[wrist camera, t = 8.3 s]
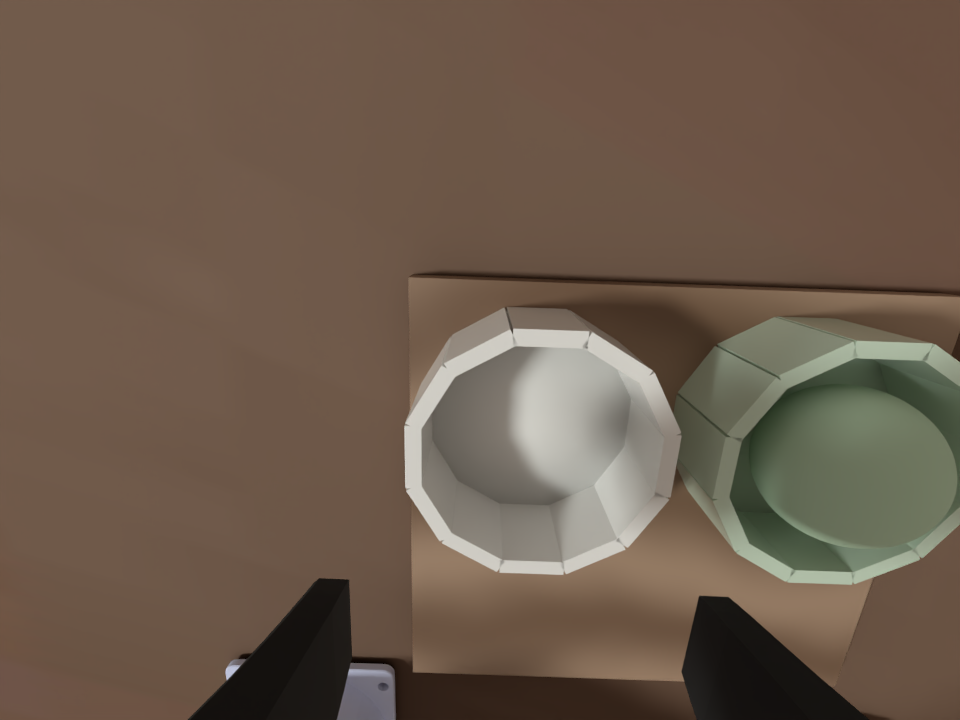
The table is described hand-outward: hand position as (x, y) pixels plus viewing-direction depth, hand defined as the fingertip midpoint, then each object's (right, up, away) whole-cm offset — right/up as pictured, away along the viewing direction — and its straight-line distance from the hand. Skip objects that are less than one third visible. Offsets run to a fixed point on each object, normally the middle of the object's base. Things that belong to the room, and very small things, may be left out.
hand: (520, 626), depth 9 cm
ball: (+10, +3, +7) cm, 13 cm away
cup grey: (+1, +3, +8) cm, 8 cm away
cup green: (+10, +3, +8) cm, 13 cm away
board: (+6, 0, +10) cm, 11 cm away
